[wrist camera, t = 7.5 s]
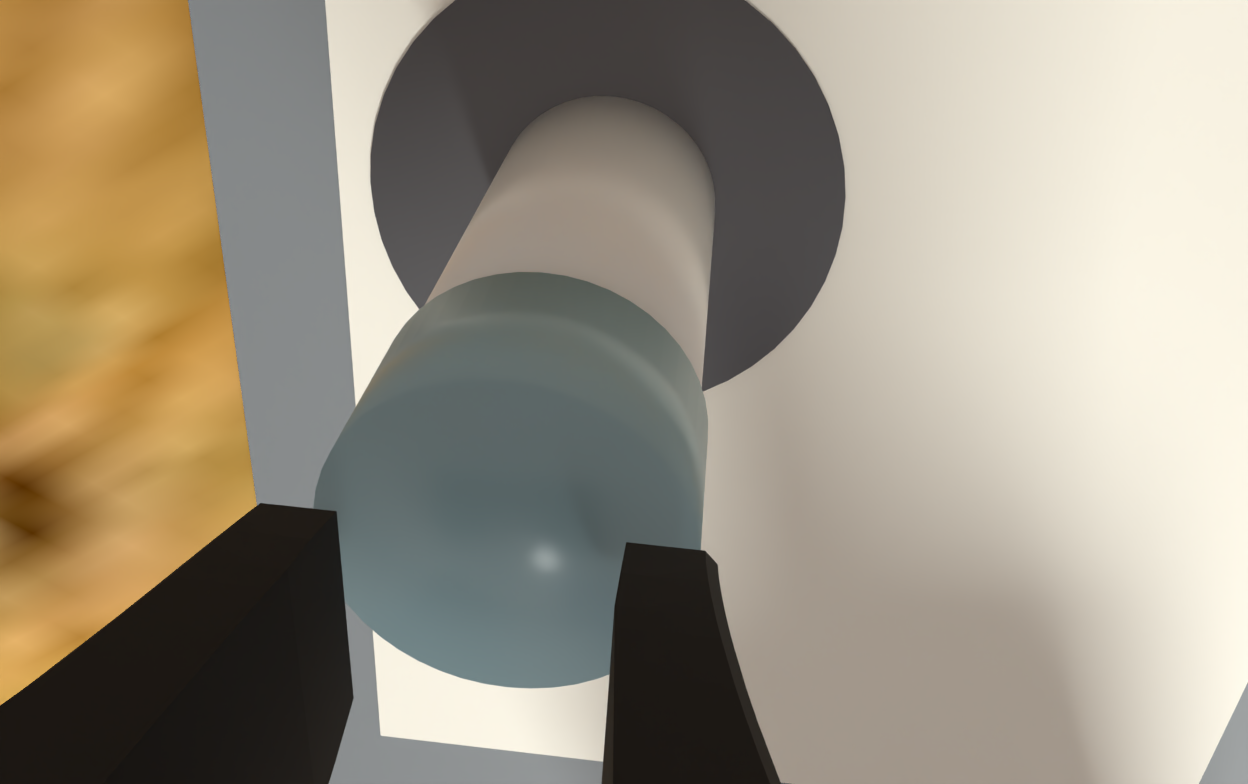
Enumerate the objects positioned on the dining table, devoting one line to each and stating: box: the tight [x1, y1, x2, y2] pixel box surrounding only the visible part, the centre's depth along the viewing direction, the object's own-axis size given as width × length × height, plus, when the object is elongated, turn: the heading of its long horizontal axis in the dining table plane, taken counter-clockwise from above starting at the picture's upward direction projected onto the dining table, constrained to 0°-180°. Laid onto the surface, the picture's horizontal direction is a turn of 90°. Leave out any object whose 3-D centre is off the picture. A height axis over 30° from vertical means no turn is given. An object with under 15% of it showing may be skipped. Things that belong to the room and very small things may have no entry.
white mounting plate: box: [188, 0, 1248, 784], centre depth 18 cm, size 22×20×1 cm
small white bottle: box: [313, 96, 715, 689], centre depth 13 cm, size 3×3×8 cm
